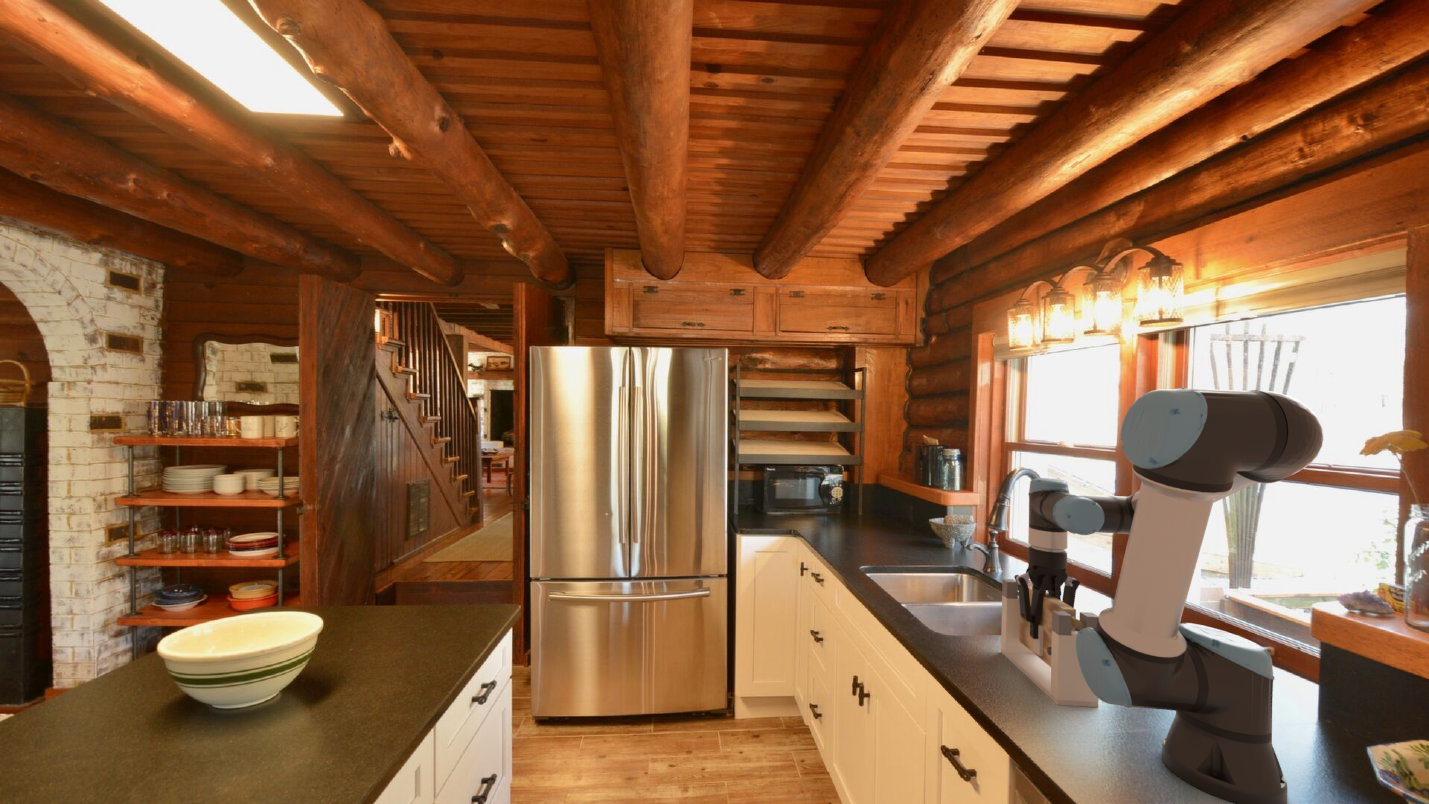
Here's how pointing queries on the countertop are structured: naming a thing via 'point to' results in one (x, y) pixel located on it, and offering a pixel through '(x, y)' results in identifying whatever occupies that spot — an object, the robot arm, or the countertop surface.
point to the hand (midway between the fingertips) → (1045, 653)
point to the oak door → (1046, 624)
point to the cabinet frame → (1065, 671)
